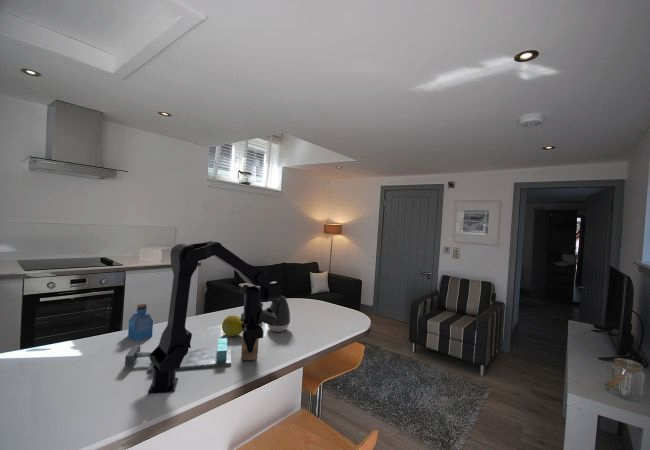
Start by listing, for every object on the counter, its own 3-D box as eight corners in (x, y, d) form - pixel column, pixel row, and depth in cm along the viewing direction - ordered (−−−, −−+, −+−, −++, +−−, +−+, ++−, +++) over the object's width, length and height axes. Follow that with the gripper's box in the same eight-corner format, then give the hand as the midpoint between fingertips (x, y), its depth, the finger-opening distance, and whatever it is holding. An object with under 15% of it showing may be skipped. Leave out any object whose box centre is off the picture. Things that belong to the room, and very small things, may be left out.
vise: (147, 372, 89) (148, 357, 89) (156, 354, 101) (157, 340, 101) (230, 365, 97) (231, 351, 97) (230, 349, 108) (231, 336, 108)
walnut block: (257, 359, 101) (258, 335, 101) (241, 360, 99) (243, 336, 99) (255, 352, 106) (257, 330, 106) (241, 353, 104) (242, 330, 104)
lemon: (216, 334, 121) (218, 314, 121) (233, 329, 127) (234, 311, 127) (231, 342, 114) (233, 321, 114) (248, 337, 120) (250, 317, 120)
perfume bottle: (145, 332, 118) (147, 302, 118) (152, 336, 114) (154, 305, 114) (128, 336, 114) (130, 304, 113) (133, 341, 110) (135, 308, 109)
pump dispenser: (261, 328, 131) (263, 294, 131) (281, 324, 138) (283, 291, 138) (273, 336, 123) (276, 299, 123) (294, 331, 130) (296, 296, 130)
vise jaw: (123, 368, 88) (124, 357, 88) (133, 353, 98) (134, 343, 98) (164, 365, 92) (165, 354, 92) (170, 351, 101) (171, 341, 101)
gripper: (280, 312, 96) (277, 359, 96) (272, 296, 114) (269, 337, 114) (245, 312, 92) (241, 362, 93) (242, 296, 110) (239, 338, 110)
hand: (249, 349), depth 102 cm, fingers closed on walnut block, 5 cm apart
